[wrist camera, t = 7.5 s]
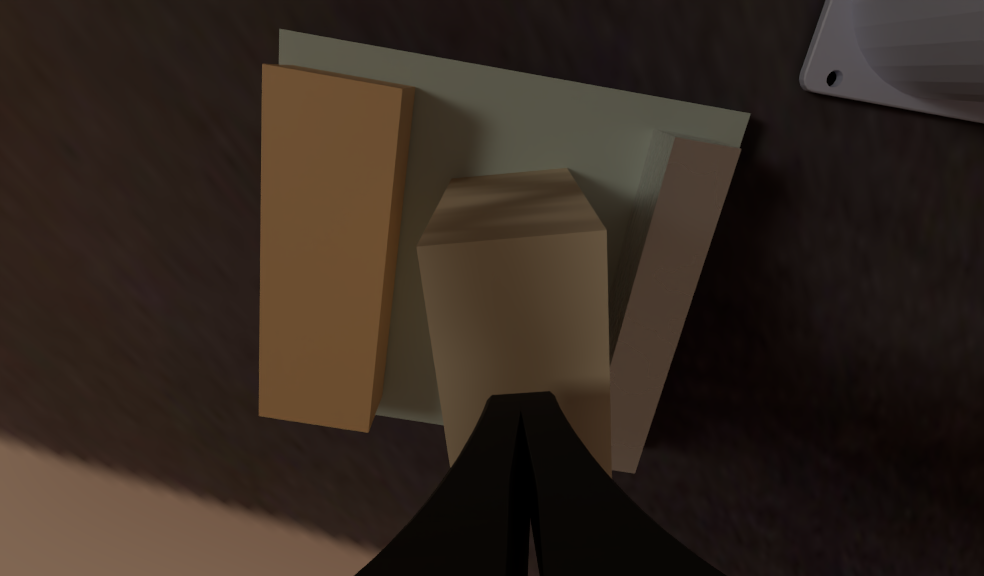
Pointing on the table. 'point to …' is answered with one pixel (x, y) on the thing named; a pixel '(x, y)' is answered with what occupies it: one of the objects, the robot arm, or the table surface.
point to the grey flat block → (599, 174)
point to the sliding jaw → (328, 241)
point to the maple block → (518, 301)
